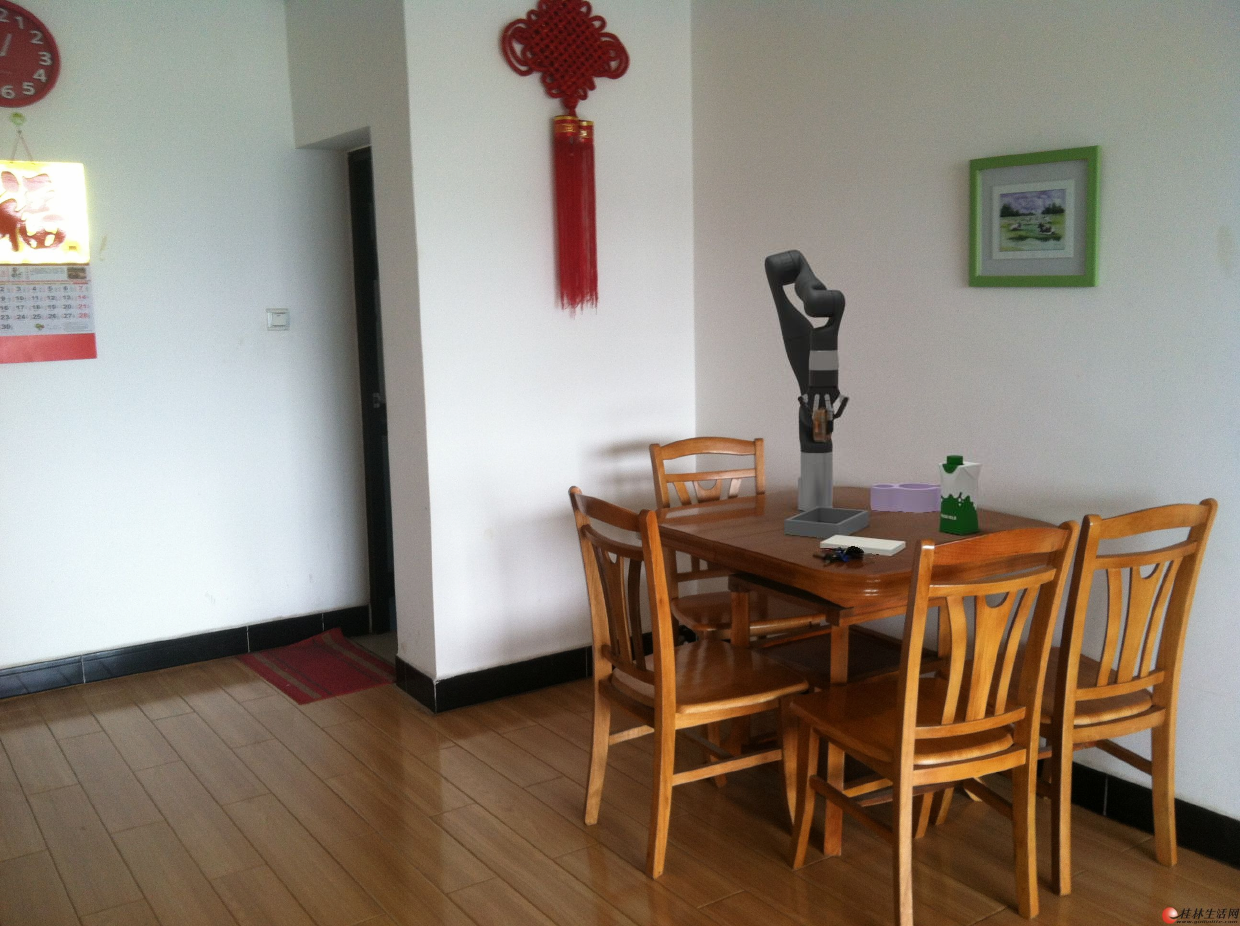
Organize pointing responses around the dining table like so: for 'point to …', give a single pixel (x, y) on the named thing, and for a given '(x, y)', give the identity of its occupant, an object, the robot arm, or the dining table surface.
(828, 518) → the bin
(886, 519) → the dining table surface
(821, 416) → the tin
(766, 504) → the dining table surface
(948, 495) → the milk carton
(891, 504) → the clip
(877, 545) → the cream board
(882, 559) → the dining table surface
